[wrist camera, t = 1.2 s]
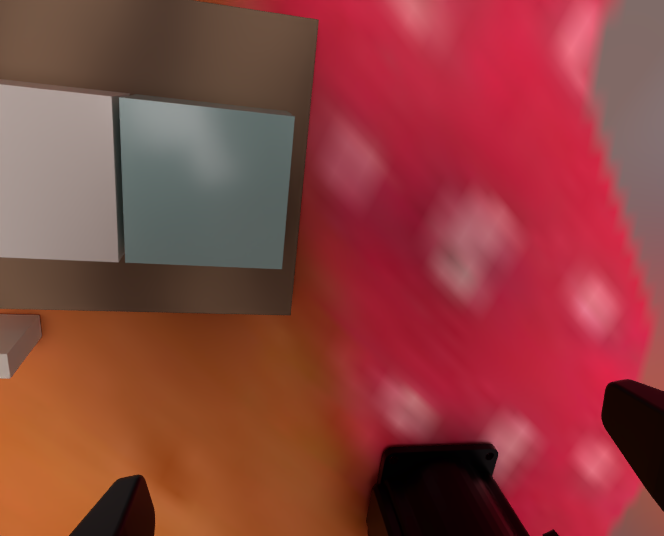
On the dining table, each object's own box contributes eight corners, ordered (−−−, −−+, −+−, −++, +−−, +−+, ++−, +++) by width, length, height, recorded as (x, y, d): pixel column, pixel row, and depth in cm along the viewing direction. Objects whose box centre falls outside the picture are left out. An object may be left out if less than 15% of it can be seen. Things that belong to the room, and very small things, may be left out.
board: (312, 24, 17) (318, 19, 16) (287, 299, 21) (290, 315, 20) (-33, -28, 15) (-60, -39, 14) (9, 291, 19) (-9, 308, 18)
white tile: (129, 93, 16) (111, 96, 14) (134, 238, 18) (118, 262, 15) (-44, 74, 15) (-95, 73, 12) (-21, 229, 17) (-62, 254, 14)
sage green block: (287, 111, 17) (294, 116, 15) (276, 245, 19) (281, 269, 16) (136, 93, 16) (119, 97, 14) (140, 238, 18) (125, 262, 15)
